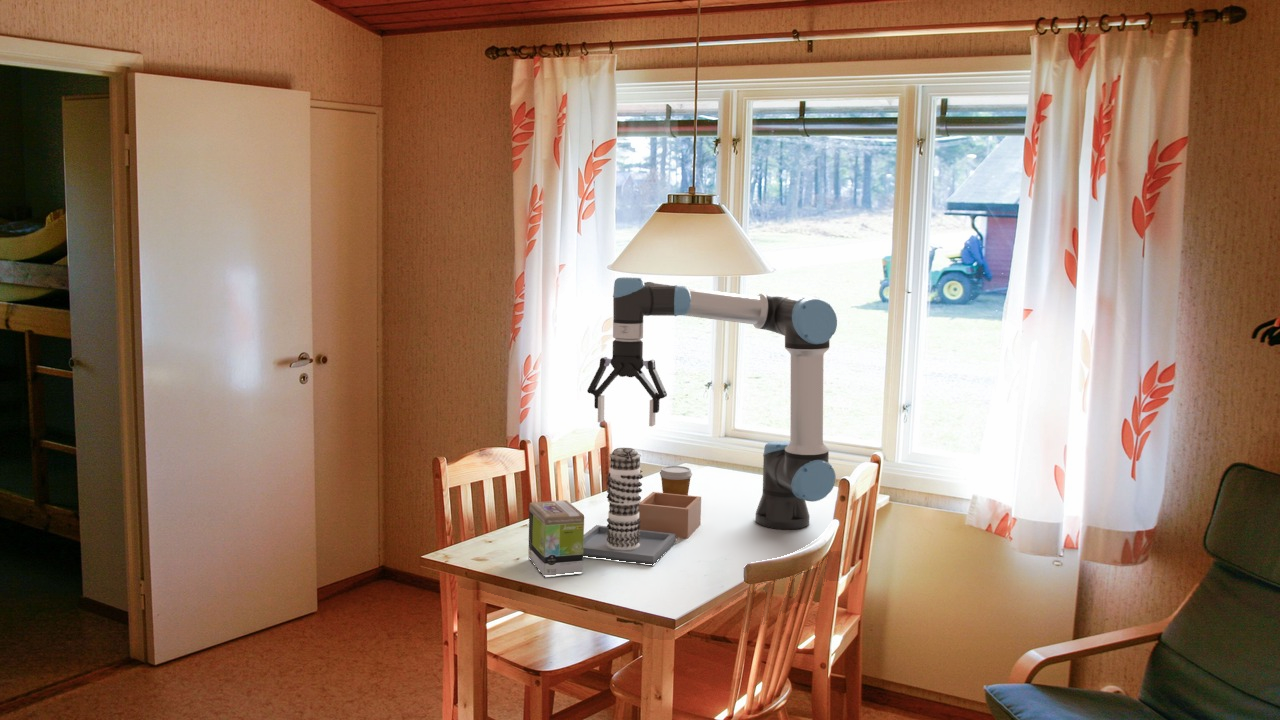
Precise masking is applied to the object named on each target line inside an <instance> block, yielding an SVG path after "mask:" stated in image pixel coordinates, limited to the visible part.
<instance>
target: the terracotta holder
mask: <svg viewBox="0 0 1280 720" xmlns="http://www.w3.org/2000/svg"><path fill="white" fill-rule="evenodd" d="M701 512H702V496H698V495H689V494H688V495H679V494H669V493H663V492H658V491H656V492H655V491H652V492H651V493H650V494H649V495H647V496H646V497H645V498H643V499H642V500H641V501H640V503H639V519H640V520H641V521H640V523H639V525H640V529H638V530H645V531H654V532H663V533H672V534H675V538H677V539H678V538H679V539H686V538H688V539H689V538H690V537H691V536H692V535H693V534H694V532H695V531H696V530H697V529H698V528H699V527H700V526H701V520H702V519H701V517H702V513H701Z"/></svg>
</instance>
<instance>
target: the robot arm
mask: <svg viewBox="0 0 1280 720" xmlns="http://www.w3.org/2000/svg"><path fill="white" fill-rule="evenodd" d="M613 283H614V284H613V294H612V297H613V305H612V307H613V310H612V311H613V314H612V315H613V319H612V338H613V339H614V340H613V341H612V358H608V356H603V357H601V358H600V359H599V367H598V368H597V370H596V372H595V375H594V376H593V378H592V380H591V382H590V384H589V386H588V388H587V392H586V393H588V394H591V395H593V396H594V403H593V405H594V409H597V423H602V422H604V421H605V395H603V393H604V392H605V390H606V389H607V388H608V387H609V386H610V385H611V383H612V382H613V381H614V380H615V379H616V378H617V377H618V376H619V377H622V378H625V377H627V378H633V377H635V378H636V379H637V380H638V381H639V383H640V384H641V386H642V387H643V388H644V390H645V391H647V394H648V395H649V396H650V398H651V399H650V400H649V414H648V415H649V418H648V419H649V423H648V424H649V425H648V427H654V426H655V425H656V414H657V413H659V411H660V400H661V399H664V398H666V397H667V395H668V394H667V391H666V389H665V387H664V384H663V382H662V380H661V377H660V375H659V373H658V371H657V368H656V361H655V360H654V359H649V360H644V359H643V352H644V351H643V350H644V348H643V347H644V346H643V345H644V344H643V340H642V339H643V338H644V316H645V317H648V316H653V317H654V316H656V317H657V316H661V317H662V316H664V317H665V316H668V317H669V316H671V317H672V316H674V317H677V316H684V317H693V318H698V319H699V318H701V319H707V320H708V319H709V320H716V321H722V322H723V321H725V322H731V323H740V324H746V325H747V324H748V325H753V326H754V328H755V329H757V330H758V329H759V330H765V331H769V332H773V333H775V334H779V335H781V336H784V349H785V350H787V352H788V353H789V354H790V440H789V441H788V440H787V441H783V440H782V441H771V442H767V443H765V445H764V450H763V455H762V457H763V462H762V463H763V465H762V467H763V469H762V495H761V497H760V500H759V502H758V505H757V509H756V511H755V519H754V520H755V522H756V523H757V524H758V525H760V526H762V527H766V528H770V529H779V530H796V529H803V528H806V527H808V526H809V524H810V514H809V509H808V506H807V503H806V502H817V501H821V500H822V499H825V498H826V497H827V496H828V495H829V494H830V493H831V492H832V491H833V489H834V486H835V483H836V472H835V469H834V468H833V466H832V464H831V463H830V462H829V455H830V454H829V453H830V452H829V447H828V446H826V444H824V437H823V436H824V433H823V432H824V355H825V353H826V352H827V351H829V350H830V342H831V341H830V340H831V339H832V336H833V335H835V333H836V331H837V327H838V326H837V325H838V318H837V315H836V314H837V313H836V311H835V309H834V308H833V306H831V304H830V303H828V301H826V300H824V299H822V298H820V297H817V296H811V295H810V296H808V295H801V294H795V293H794V294H768V293H759V294H758V295H757V296H754V295H746V294H741V293H740V294H738V293H730V292H723V291H715V290H709V289H701V288H693V287H687V286H685V285H684V286H683V285H669V284H662V283H655V282H651V281H647V282H646V281H644V278H642V277H627V276H626V277H625V276H623V277H618V278H616V279H615V280H614V282H613ZM610 365H611V367H612V368H613V370H612V371H611V372H610V374H609V375H607V377H606V379H605V380H604V381H603V382H602V383H601V384H600V385H599V383H600V382H601V379H602V377H603V375H604V373H605V371H606V369H607V367H609V366H610ZM643 367H645V368H646V370H648V373H649V376H650V377H651V380H652V382H653V384H654V386H653V384H652V383H651V382H650V380H648V378H647V377H646V375H645V373H644V372H643V370H642V369H643ZM598 385H599V386H598ZM597 387H598V388H597Z"/></svg>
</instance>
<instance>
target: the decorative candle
mask: <svg viewBox="0 0 1280 720" xmlns="http://www.w3.org/2000/svg"><path fill="white" fill-rule="evenodd" d="M608 456H609V459H610V460H609V463H610V465H609V468H608V472H609V473H608V474H607V475H606V479H607V481H606V485H607V487H608V488H607V490H606V493H607V495H606V498H607V502H608V503H609V506H608V507H609V509H608V513H607V514H608V515H607V516H608V518H607V519H606V522H607V523H608V524H607V525H606V526H607V527H608V529H609V530H608V531H607V535H608V537H607V541H608V543H607V546H608V547H609V548H611V549H614V550H622V551H625V550H634V549H637V548H639V546H640V544H639V542H640V538H639V536H640V532H639V530H638V529H640V525H639V523H640V521H641V520H640V519H639V503H640V502H641V501H642V500H641V499H642V496H640V495H639V494H640V493H641V492H642V491H643V489H642V488H641V487H642V486H643V483H642V482H641V481H640V480H641V479H643V478H644V477H643V475H642V474H641V473H642V472H643V471H642V469H641V465H640V464H641V461H640V460H641V457H642V456H641V454H639V453H638V451H637V450H636V449H634V448H632V447H618V448H615V449H614V450H613V451H612V452H611V453H610V454H608Z"/></svg>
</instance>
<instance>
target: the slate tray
mask: <svg viewBox="0 0 1280 720" xmlns="http://www.w3.org/2000/svg"><path fill="white" fill-rule="evenodd" d="M608 530H609V529H608V527H607V525H599V524H596V525H595V526H593V527H592V528H591V529H589V530H588V531H587V532H584V542H583V556H588V557H596V558H606V559H611V560H619V561H626V562H636V563H645V564H652V565H653V564H654V563H656V562H657V560H658V559H660V558H661V556H662V557H664V555H665V554H666V553H668V552H669V550H671V548H672V547H674V545H675V544H676V537H675V534H672V533H663V532H654V531H645V530H639V532H640V536H639V538H640V542H639V544H640V546H639V548H637V549H634V550H625V551H622V550H614V549H611V548H609V547H608V546H607V543H608V541H607V537H608V535H607V531H608ZM674 543H675V544H674ZM665 552H666V553H665ZM664 553H665V554H664ZM663 554H664V555H663ZM660 560H661V559H660ZM657 563H658V562H657Z"/></svg>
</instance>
